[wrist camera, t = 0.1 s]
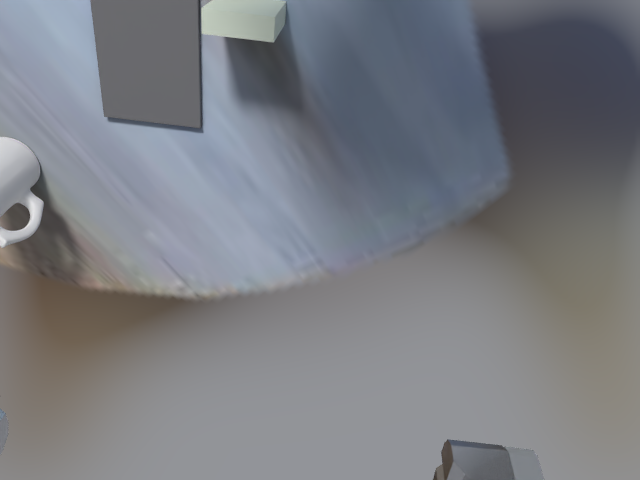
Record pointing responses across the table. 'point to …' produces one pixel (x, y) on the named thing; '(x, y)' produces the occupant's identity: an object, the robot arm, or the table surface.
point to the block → (244, 19)
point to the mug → (18, 187)
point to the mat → (149, 60)
